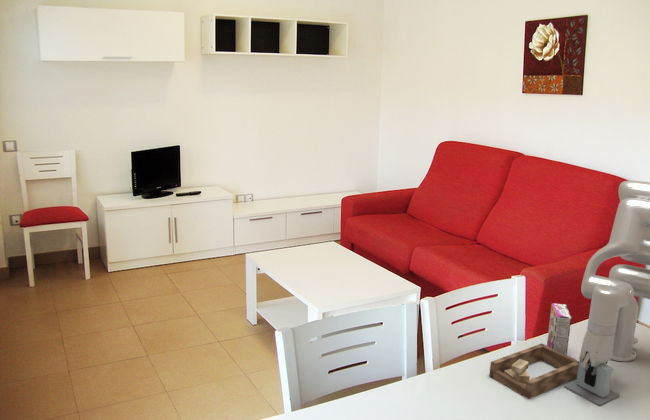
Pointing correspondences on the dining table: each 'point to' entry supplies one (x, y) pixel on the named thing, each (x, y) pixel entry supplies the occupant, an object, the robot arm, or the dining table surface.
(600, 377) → the block
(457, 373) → the dining table surface
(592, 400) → the felt pad
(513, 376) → the offcut
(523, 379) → the offcut
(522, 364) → the offcut
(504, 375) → the tray
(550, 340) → the candy bar box
